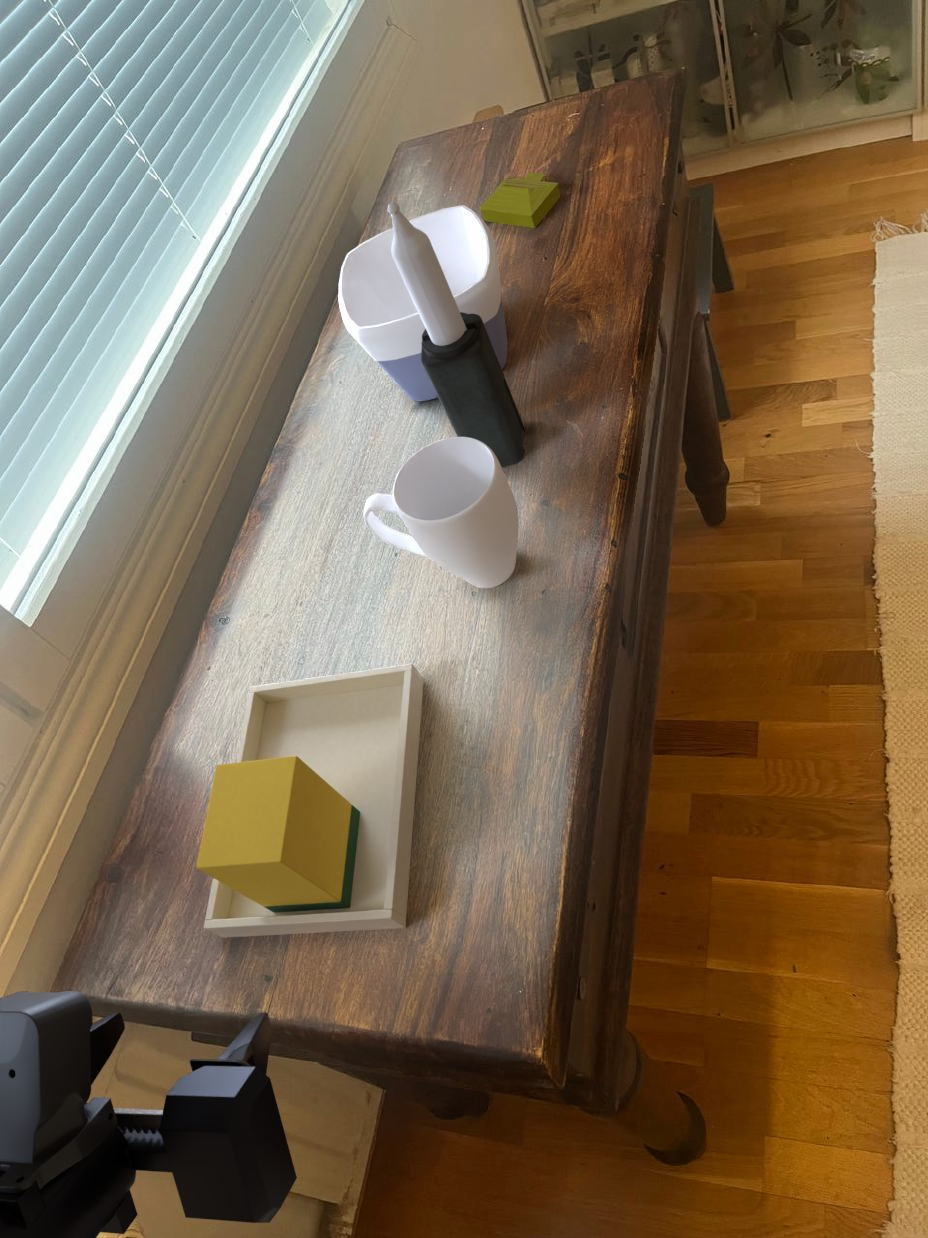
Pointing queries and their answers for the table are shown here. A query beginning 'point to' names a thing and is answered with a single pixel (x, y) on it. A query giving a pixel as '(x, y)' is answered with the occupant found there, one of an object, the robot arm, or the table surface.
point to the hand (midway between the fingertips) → (191, 1019)
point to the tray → (340, 789)
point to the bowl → (386, 307)
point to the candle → (457, 350)
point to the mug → (453, 511)
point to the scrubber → (280, 836)
